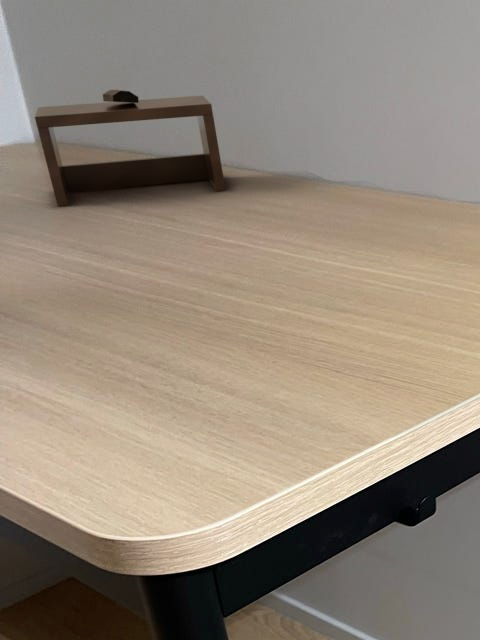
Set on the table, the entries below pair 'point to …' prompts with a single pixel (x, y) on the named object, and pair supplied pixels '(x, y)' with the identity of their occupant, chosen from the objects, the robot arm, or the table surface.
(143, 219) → the table surface
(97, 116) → the shelf
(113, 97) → the block
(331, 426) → the table surface
